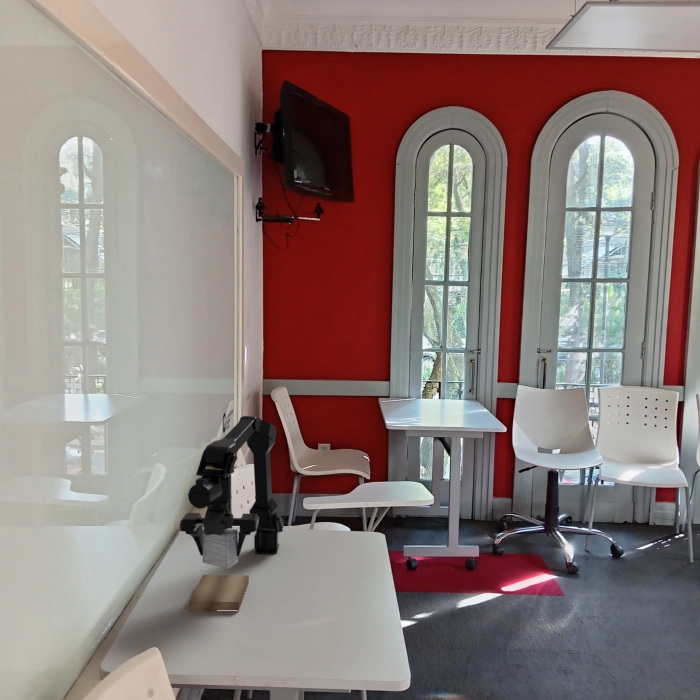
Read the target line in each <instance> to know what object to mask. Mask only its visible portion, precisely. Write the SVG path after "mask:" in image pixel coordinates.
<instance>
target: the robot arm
mask: <svg viewBox="0 0 700 700" xmlns="http://www.w3.org/2000/svg"><path fill="white" fill-rule="evenodd" d="M276 438H277V429H276V426H275V425H273V423H270V422H268V421H265V420H263V419H261V418H260V417H258V416H257V415H255V416H254V415H252V416H251V415H243V416H240V419H239V420H238V422H237V423H236V425H234V427H232V429H230V431H229V432H227V434H225V436H224V437H223V438H221V439H218V440H215V441H212V442H210V443H209V444H208V445H206V447H205V448H204V449H203V451H202V455H201V458H200V460H199V461H200V462H199V464H198V468H197V471H196V476H197V477H198V478H197V479H196V480H195V484H194V485H192V486H191V487H190V488H189V491H188V494H187V496H188V497H187V498H188V501H189V503H190V504H191V505H192V507H194V508H196V509H206V511H205V514H204V517H202V514H201V512H186V514H185V515H184V516H183V517H182V519H181V520H180V521H179V531H180V532H185V534H186V535H189V536H191V537H192V539H193V540H194V543H195V545H196V546H197V547H196V548H197V549H198V552H199V555H200V556H202V557H203V543H202V531H203V530H204V534H205V535H222V534H224V531H225V530H227V529H228V528H231V529H233V527H239V531H238V547H237V556H238V557H239V556H240V554H241V551H242V549H243V544H244V542H245V538H246V536H249V535H251V534H252V533H255V534H254V537H253V538H254V539H253V541H254V544H253V545H254V546H253V548H254V550H255V551H254V553H255V554H265V555H267V554H272V555H273V554H274V555H275V554H277V553H278V550H279V547H280V543H279V533H282V532H284V531H283V530H284V529H283V528H284V525H285V524H284V523H285V521H284V519H283V517H282V516H281V514H280V512H279V505H278V504H277V502H276V501H275V499H274V498H273V494H272V493H273V491H272V490H273V489H272V470H271V469H272V468H271V467H272V466H271V450H272V448H273V446H274V445H275V443H276ZM245 443H246V445H247V447H248V448H249V451H251V453H252V455H253V474H254V475H253V476H254V477H253V479H254V495H255V498H254V499H255V501H254V503H253V505H251V507H250V509H249V511H248V512H249V513H242V515H241V517H234V515H233V512H232V500H233V499H232V498H233V497H232V474H234V473H235V469H234V466H235V464H236V462H237V460H238V452H239V450H240V449H241V448H242V447H243V446H244V444H245Z"/></svg>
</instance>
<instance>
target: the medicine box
mask: <svg viewBox="0 0 700 700" xmlns="http://www.w3.org/2000/svg"><path fill="white" fill-rule="evenodd" d="M238 533H239V531H238V529H236V528H235V529H234V528H228V529H227V530H225V531H224V534H222V535H205V534H204V529H203V531H202V543H203V556H202V563H203V564H207V565H212V566H215V567H220V568H224V569H230V568H232V567H233V566H234V565H236V564H237V563H238V562H239V556H237V547H238V538H239V536H238Z"/></svg>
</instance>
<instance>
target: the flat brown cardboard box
mask: <svg viewBox="0 0 700 700" xmlns="http://www.w3.org/2000/svg"><path fill="white" fill-rule="evenodd" d="M249 579H250V577H249V574H243V575H242V574H203V575H202V576H201V578H200V580H199V581H198V584H197V585H196V587H195V590H194V591H193V593H192V595H191V596H190V599H189V601H188V610H189V612H213V611H217V610H238V611H239V612H240V610H241V607H242V605H241V604H243V602H244V599H245V596H246V593H247V591H246V590H248V588H247V587H249V585H248V584H250V581H249ZM245 592H246V593H245ZM244 595H245V596H244ZM243 598H244V599H243ZM242 601H243V602H242ZM240 606H241V607H240ZM239 609H240V610H239Z"/></svg>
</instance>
